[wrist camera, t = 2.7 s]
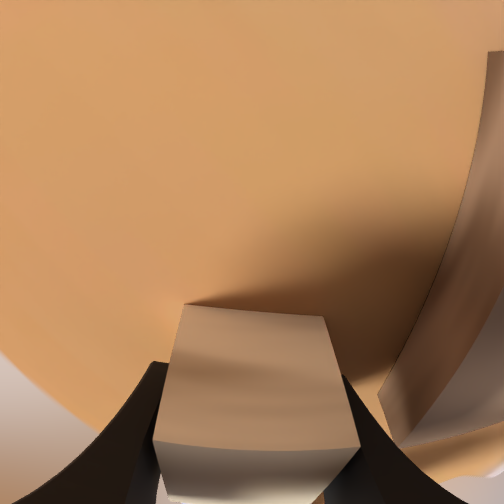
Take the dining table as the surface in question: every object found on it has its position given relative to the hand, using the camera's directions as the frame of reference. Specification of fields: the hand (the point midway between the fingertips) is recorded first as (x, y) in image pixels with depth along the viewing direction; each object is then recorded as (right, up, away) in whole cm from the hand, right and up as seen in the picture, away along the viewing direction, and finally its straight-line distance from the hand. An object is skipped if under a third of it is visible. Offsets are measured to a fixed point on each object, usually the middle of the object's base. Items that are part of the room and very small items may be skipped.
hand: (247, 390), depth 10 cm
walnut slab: (+12, +4, 0) cm, 12 cm away
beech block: (0, +1, +1) cm, 2 cm away
